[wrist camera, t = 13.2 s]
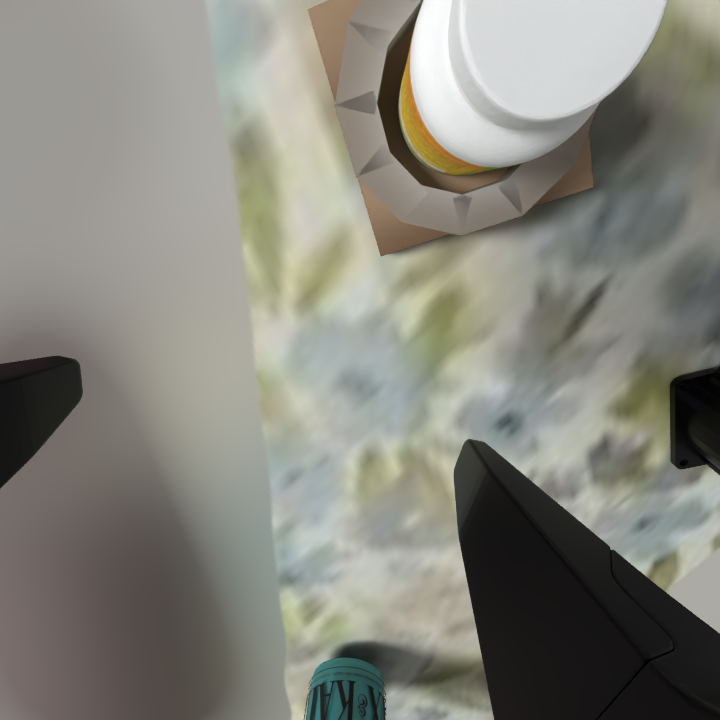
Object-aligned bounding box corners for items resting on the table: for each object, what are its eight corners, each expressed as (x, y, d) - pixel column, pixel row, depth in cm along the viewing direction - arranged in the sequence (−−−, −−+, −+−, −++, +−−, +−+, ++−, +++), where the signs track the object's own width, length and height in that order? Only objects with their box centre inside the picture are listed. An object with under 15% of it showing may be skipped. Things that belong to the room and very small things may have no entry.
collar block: (580, 187, 18) (612, 186, 16) (380, 253, 20) (381, 261, 17) (555, -86, 15) (592, -143, 12) (312, 21, 16) (300, -10, 14)
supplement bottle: (450, 203, 18) (524, 214, 9) (371, 103, 16) (365, -4, 7) (552, 108, 16) (770, 3, 7) (474, -12, 15) (628, -329, 6)
